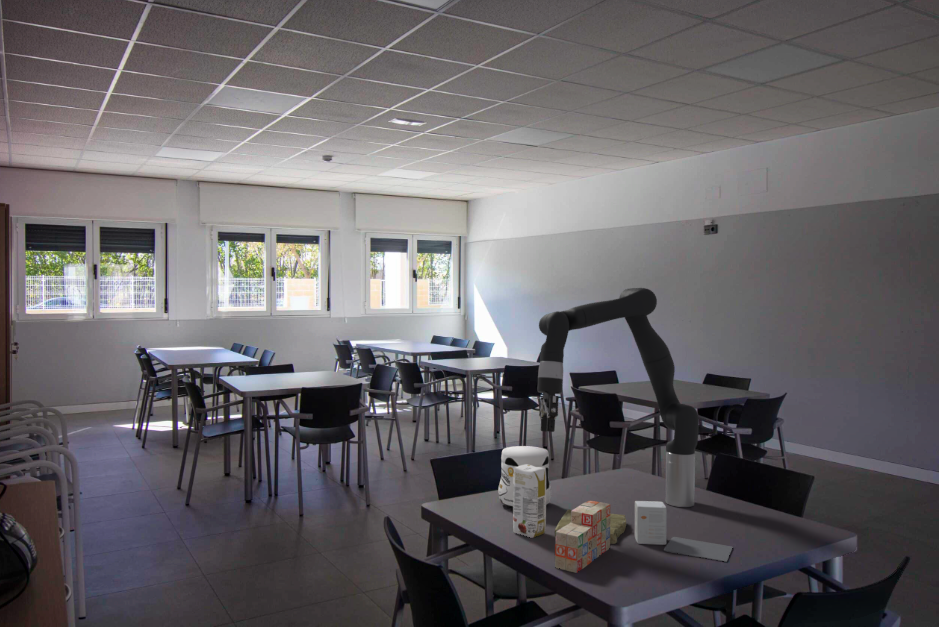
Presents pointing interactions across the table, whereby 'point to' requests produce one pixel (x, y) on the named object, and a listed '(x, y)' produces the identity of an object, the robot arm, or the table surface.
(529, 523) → the juice carton
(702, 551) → the mat
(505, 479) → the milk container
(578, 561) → the stack of blocks
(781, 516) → the table surface
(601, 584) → the table surface
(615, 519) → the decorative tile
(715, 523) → the table surface
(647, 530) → the small box
